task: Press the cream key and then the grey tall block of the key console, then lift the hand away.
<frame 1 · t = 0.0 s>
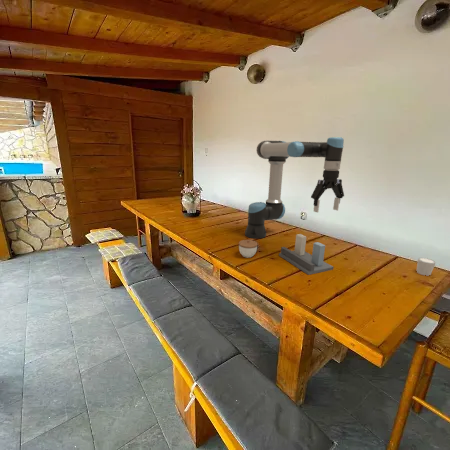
hand: (325, 210, 129), 28 cm above the table, tool pointing down, fingers open, 13 cm apart
lidded jar: (247, 255, 141), on the table
key console: (304, 262, 133), on the table
cream key: (300, 244, 138), point 7 cm above the table, slide at 0.0 cm
shot glass: (423, 273, 123), on the table
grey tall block: (318, 254, 126), point 7 cm above the table, slide at 0.0 cm
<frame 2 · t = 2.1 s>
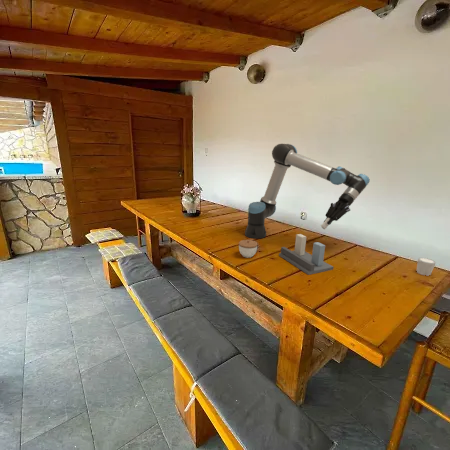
hand: (322, 227, 140), 16 cm above the table, tool tilted 45°, fingers closed
nothing on the table moved.
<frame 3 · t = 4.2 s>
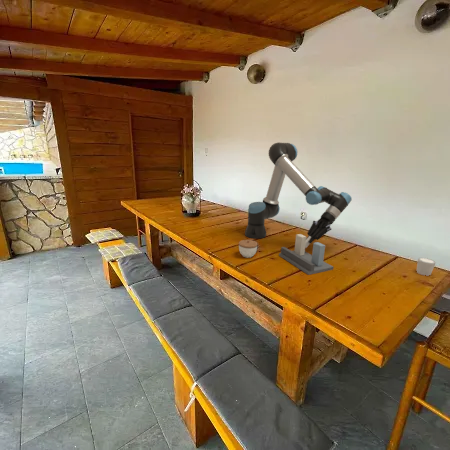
hand: (304, 246, 139), 6 cm above the table, tool tilted 45°, fingers closed
cream key: (300, 244, 138), point 7 cm above the table, slide at 0.0 cm, touching gripper
everything else where it was.
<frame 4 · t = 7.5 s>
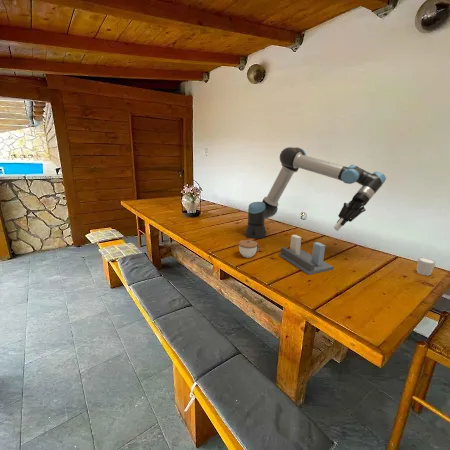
hand: (335, 228, 131), 18 cm above the table, tool tilted 45°, fingers closed
cream key: (295, 245, 137), point 7 cm above the table, slide at 3.5 cm
everything else where it was.
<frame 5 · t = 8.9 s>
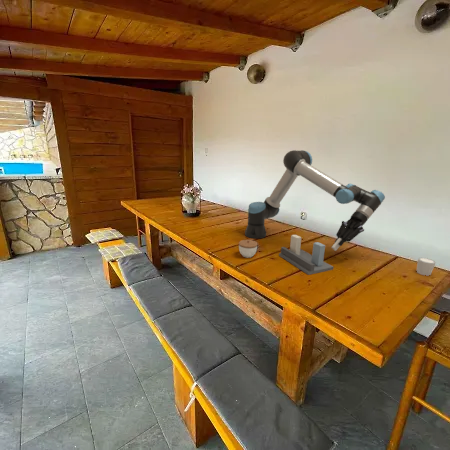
hand: (333, 248, 128), 9 cm above the table, tool tilted 45°, fingers closed
nothing on the table moved.
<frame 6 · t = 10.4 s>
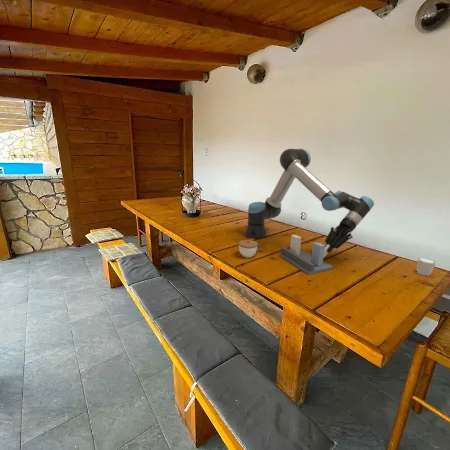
hand: (322, 255, 127), 6 cm above the table, tool tilted 45°, fingers closed
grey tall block: (317, 254, 125), point 7 cm above the table, slide at 0.1 cm, touching gripper
everything else where it was.
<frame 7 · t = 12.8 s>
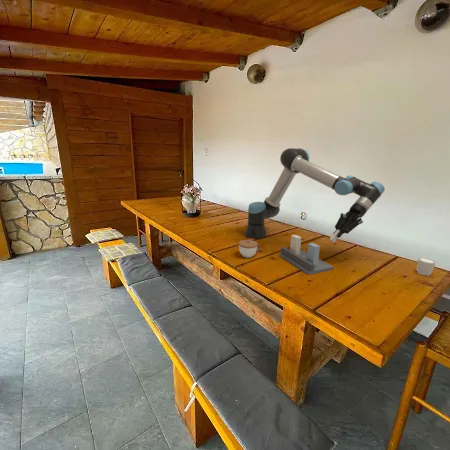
hand: (331, 240, 127), 14 cm above the table, tool tilted 45°, fingers closed
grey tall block: (312, 255, 124), point 7 cm above the table, slide at 3.4 cm
everything else where it was.
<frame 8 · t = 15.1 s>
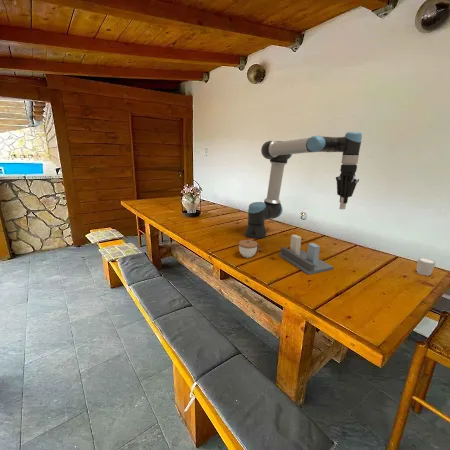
hand: (342, 208, 132), 28 cm above the table, tool pointing down, fingers closed
nothing on the table moved.
at the end: cream key slide at 3.5 cm; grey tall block slide at 3.4 cm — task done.
